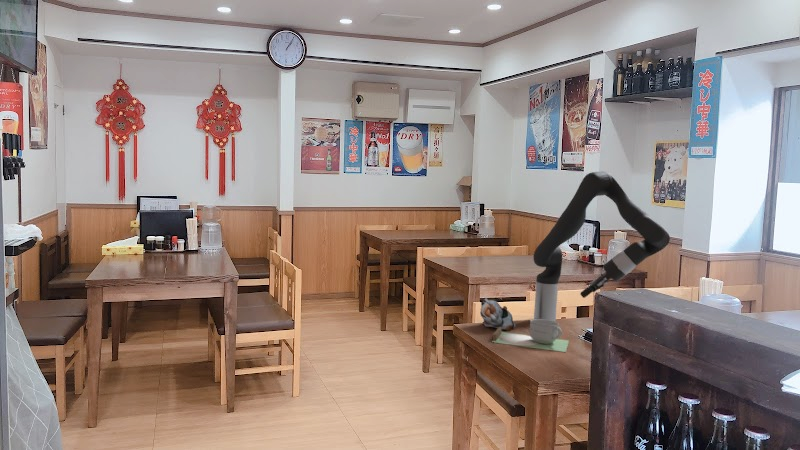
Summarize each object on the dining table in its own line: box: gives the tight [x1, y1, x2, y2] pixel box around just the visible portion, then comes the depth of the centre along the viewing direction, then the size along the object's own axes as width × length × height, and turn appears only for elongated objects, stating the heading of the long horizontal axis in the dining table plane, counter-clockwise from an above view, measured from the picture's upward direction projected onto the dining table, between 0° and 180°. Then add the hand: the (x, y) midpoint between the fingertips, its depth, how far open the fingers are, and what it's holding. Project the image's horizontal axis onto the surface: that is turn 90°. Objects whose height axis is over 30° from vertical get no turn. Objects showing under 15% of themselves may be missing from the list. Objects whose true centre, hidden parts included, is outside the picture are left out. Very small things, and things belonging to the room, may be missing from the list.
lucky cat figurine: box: [480, 297, 516, 332], centre depth 255 cm, size 15×12×14 cm
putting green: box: [491, 327, 570, 353], centre depth 236 cm, size 16×27×2 cm, turn 71°
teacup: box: [529, 318, 563, 344], centre depth 234 cm, size 14×11×8 cm
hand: (581, 295), depth 229 cm, fingers closed
